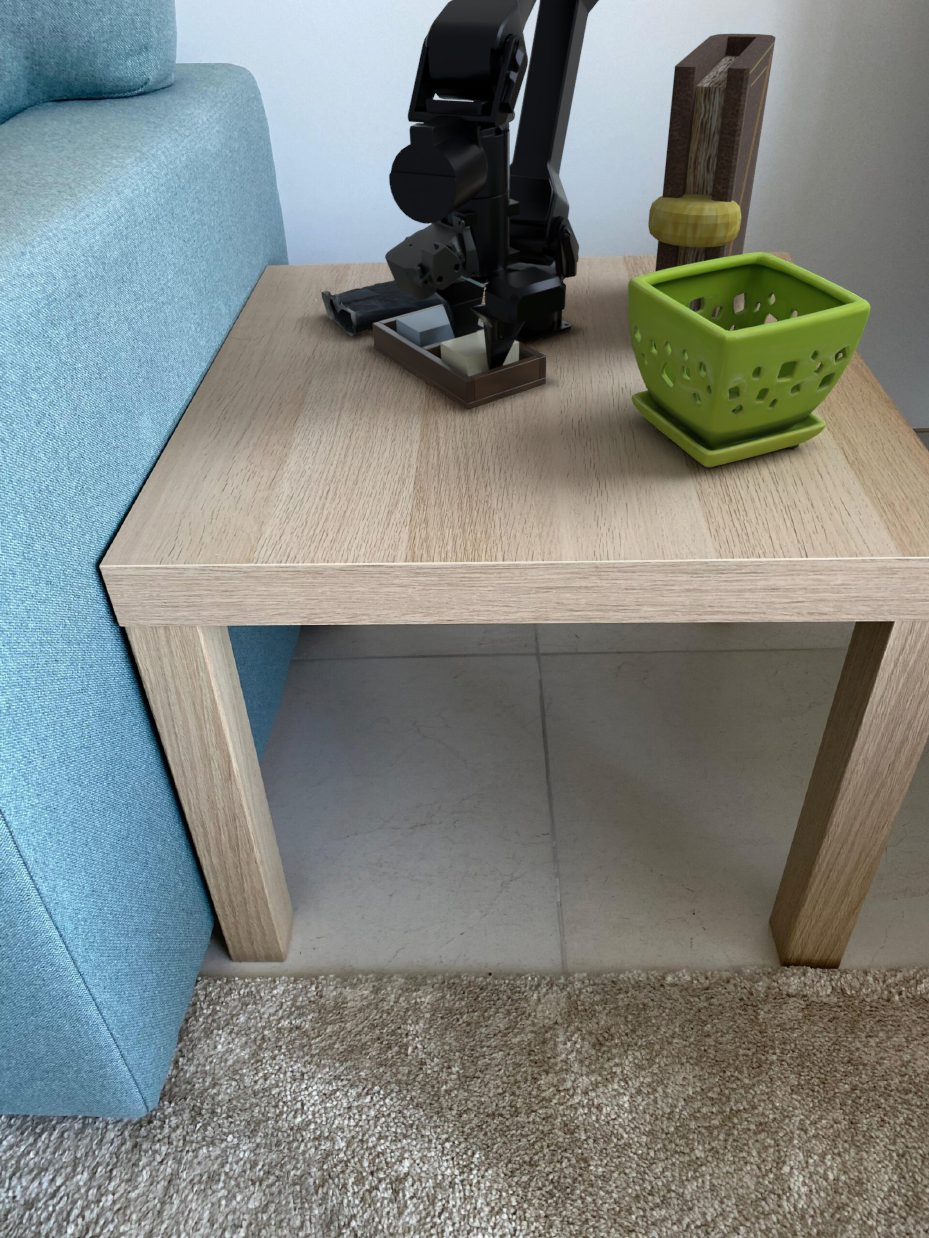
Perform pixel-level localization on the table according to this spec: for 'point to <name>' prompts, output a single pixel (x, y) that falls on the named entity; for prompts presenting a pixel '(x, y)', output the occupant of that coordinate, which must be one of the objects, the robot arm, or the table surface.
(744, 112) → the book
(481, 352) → the cream rectangular block
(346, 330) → the electronic device
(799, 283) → the flower pot
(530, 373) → the shallow rectangular tray
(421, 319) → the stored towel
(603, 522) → the table surface
